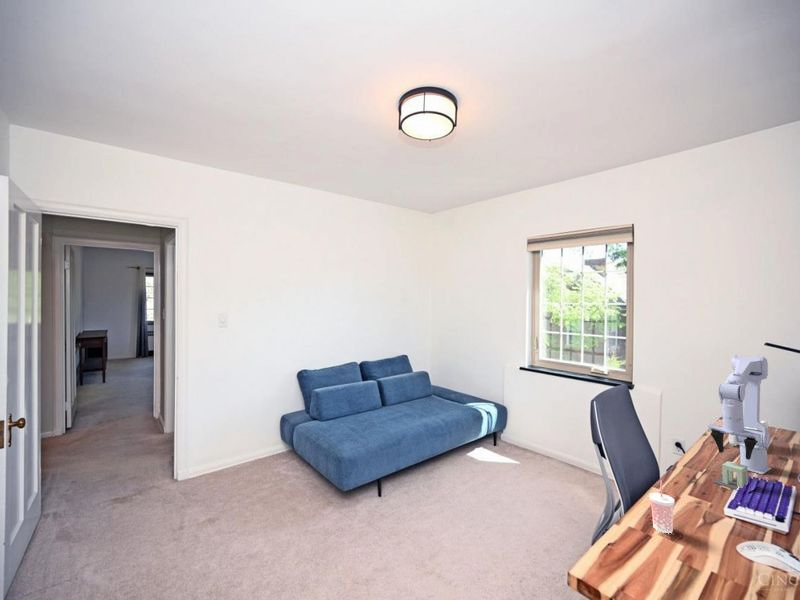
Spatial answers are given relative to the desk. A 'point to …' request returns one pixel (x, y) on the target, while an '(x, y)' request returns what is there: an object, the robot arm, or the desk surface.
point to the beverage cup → (662, 511)
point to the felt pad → (731, 484)
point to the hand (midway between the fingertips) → (734, 455)
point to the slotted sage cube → (739, 469)
